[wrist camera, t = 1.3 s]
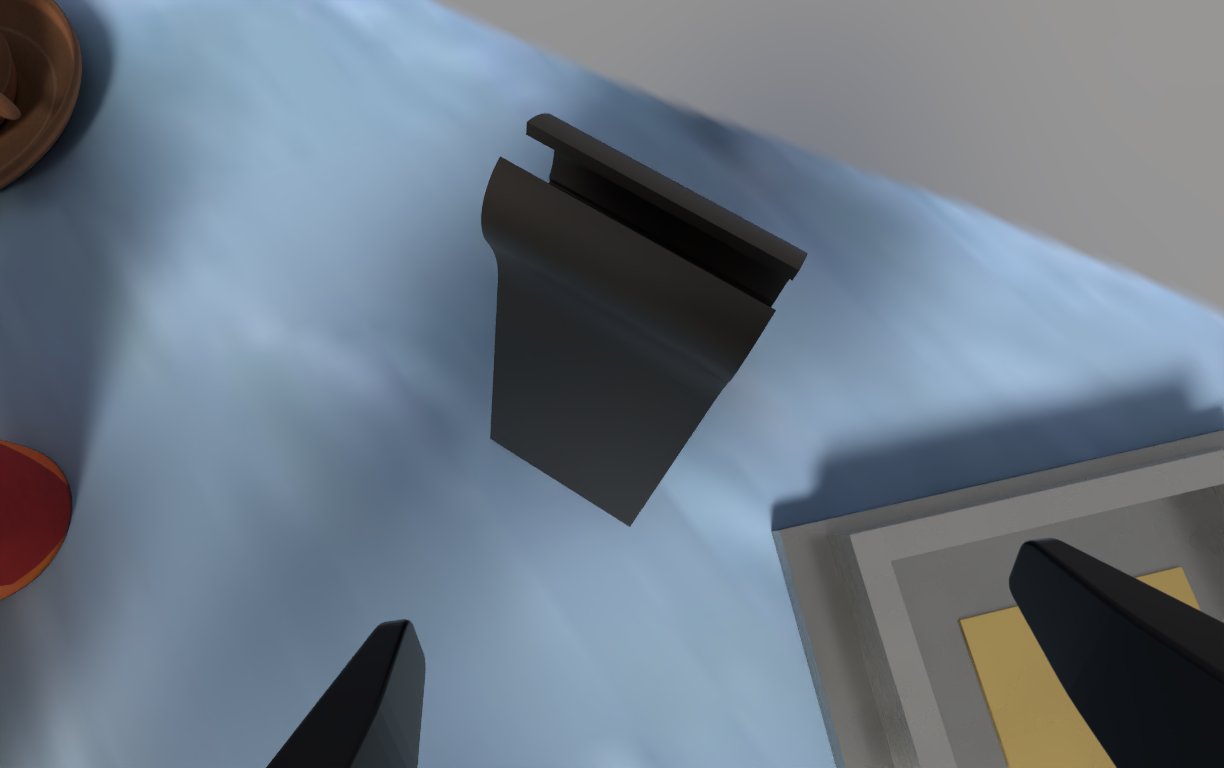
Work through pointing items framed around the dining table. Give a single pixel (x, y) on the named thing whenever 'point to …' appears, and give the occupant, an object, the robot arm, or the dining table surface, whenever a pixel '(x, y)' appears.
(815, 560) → the square tray
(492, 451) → the dining table surface
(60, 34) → the cup and saucer
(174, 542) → the dining table surface
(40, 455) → the paper cup
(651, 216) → the phone stand
